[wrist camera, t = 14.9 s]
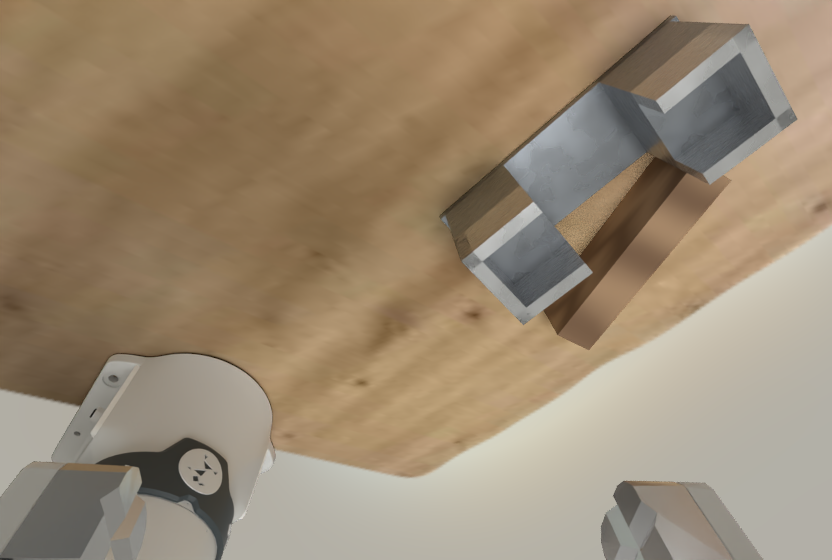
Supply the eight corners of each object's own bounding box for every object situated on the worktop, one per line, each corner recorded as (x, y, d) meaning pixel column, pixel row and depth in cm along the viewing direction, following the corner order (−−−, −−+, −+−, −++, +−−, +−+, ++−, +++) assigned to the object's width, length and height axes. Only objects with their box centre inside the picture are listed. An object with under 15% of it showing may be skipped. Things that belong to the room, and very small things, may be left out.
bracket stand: (491, 270, 46) (518, 329, 37) (439, 215, 43) (455, 266, 35) (714, 91, 40) (805, 113, 31) (670, 15, 37) (757, 17, 29)
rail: (569, 319, 49) (588, 350, 45) (540, 305, 48) (557, 335, 44) (694, 162, 43) (731, 180, 38) (664, 142, 42) (698, 158, 37)
